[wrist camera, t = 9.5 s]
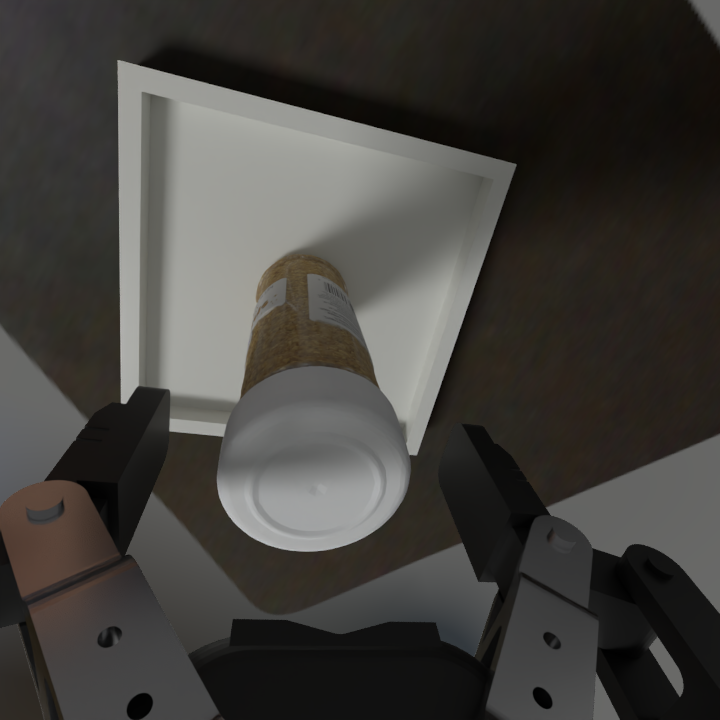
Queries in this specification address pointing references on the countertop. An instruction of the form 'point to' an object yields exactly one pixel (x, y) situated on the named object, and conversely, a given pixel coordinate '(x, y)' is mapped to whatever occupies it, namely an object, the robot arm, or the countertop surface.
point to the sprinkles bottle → (310, 420)
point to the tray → (287, 239)
